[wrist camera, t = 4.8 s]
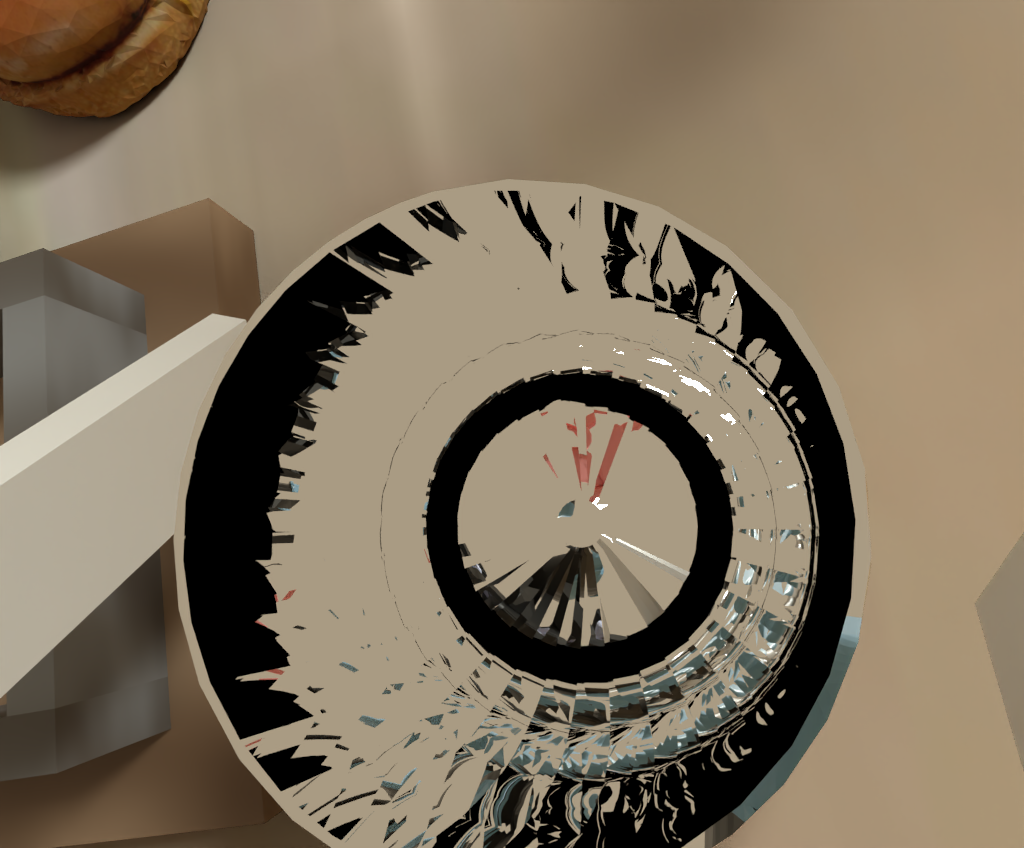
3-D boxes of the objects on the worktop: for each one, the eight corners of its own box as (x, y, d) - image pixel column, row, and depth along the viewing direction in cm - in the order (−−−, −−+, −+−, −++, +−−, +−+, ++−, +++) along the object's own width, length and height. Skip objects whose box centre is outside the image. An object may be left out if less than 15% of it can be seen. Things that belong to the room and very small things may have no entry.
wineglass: (521, 664, 16) (117, 1025, 4) (487, 437, 17) (100, 223, 5) (765, 634, 14) (1155, 1019, 3) (710, 392, 16) (834, -3, 4)
